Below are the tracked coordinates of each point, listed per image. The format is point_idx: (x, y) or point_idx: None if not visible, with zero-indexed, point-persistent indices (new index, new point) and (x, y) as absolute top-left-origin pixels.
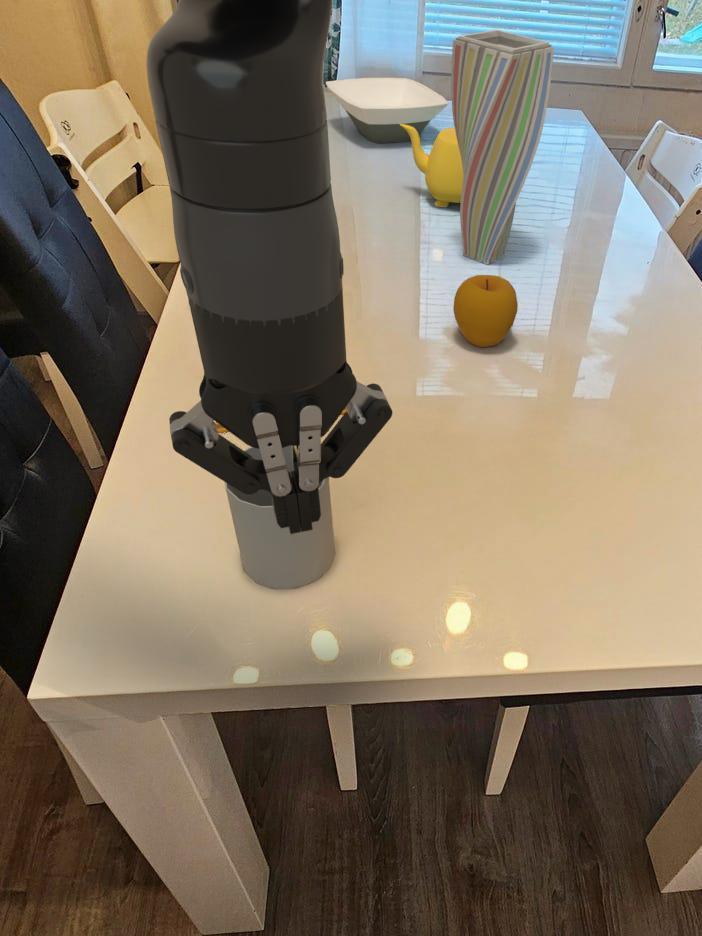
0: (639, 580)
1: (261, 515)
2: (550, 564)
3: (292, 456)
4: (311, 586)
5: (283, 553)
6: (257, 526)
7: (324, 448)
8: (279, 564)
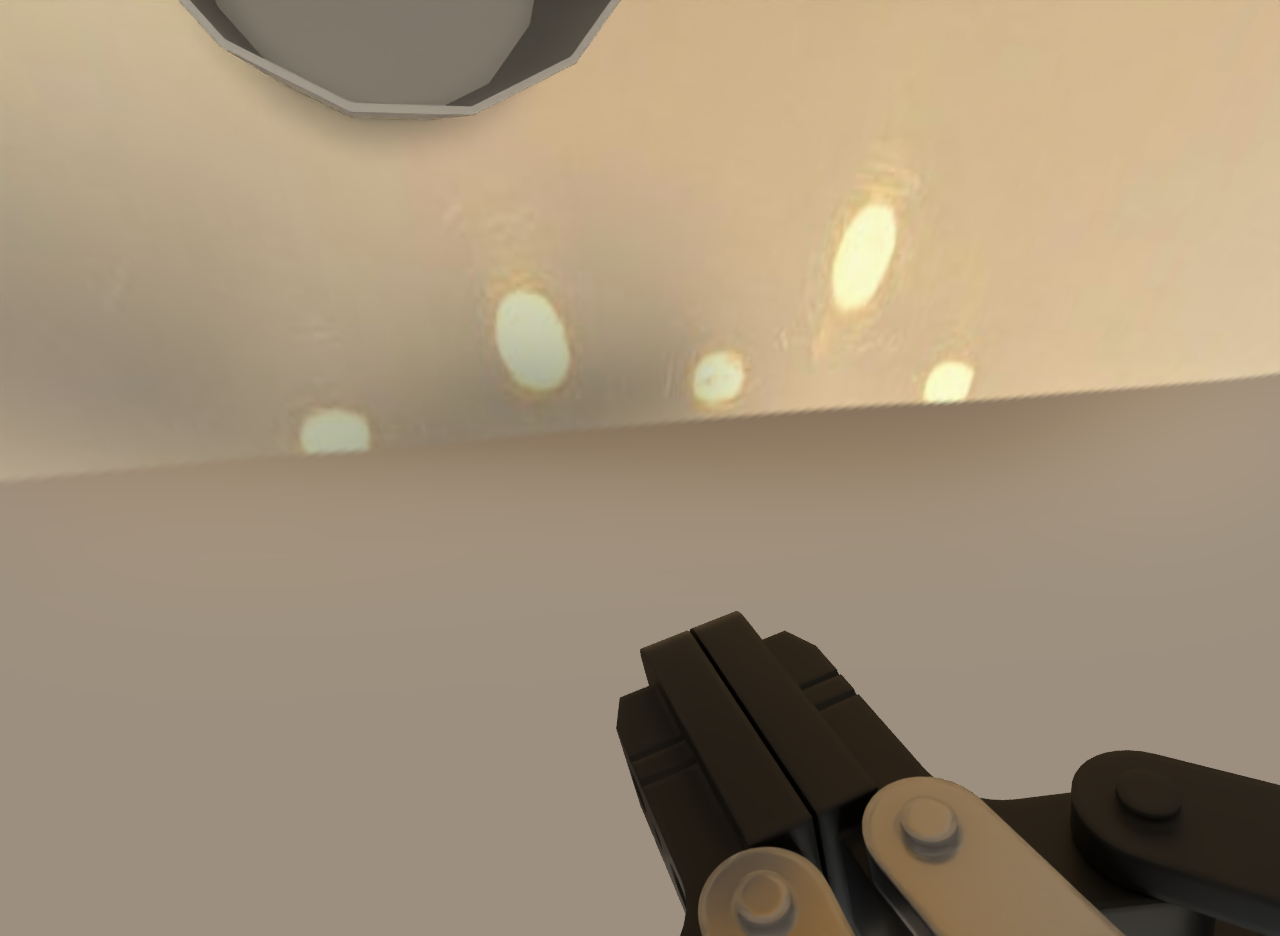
0: (1271, 156)
1: (352, 112)
2: (1122, 79)
3: (920, 933)
4: None
5: (412, 117)
6: (320, 98)
7: (1156, 916)
8: (387, 117)
